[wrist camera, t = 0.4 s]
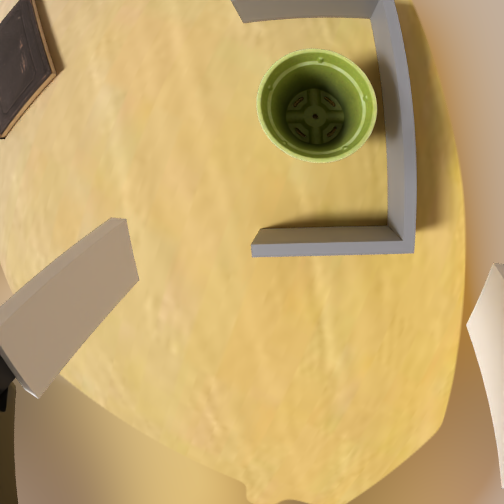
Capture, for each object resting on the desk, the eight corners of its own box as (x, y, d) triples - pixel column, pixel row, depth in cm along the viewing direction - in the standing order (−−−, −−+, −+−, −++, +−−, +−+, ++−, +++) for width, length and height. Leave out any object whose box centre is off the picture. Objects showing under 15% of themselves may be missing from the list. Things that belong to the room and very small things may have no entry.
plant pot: (250, 121, 31) (231, 111, 22) (307, 57, 27) (307, 27, 19) (319, 178, 31) (324, 187, 23) (376, 115, 28) (400, 103, 20)
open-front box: (242, 14, 27) (230, -9, 21) (378, 10, 24) (390, -13, 18) (261, 239, 34) (252, 257, 29) (397, 236, 32) (413, 253, 26)
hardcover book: (36, -7, 28) (28, -10, 25) (61, 74, 32) (51, 72, 30) (-13, 52, 32) (-21, 51, 30) (6, 139, 37) (-3, 140, 35)
